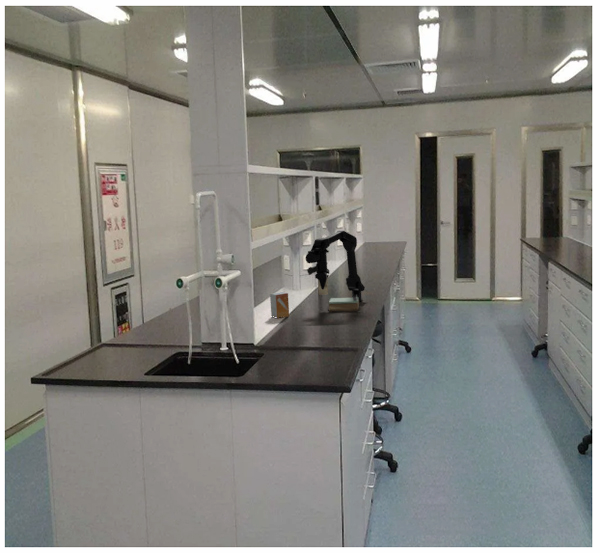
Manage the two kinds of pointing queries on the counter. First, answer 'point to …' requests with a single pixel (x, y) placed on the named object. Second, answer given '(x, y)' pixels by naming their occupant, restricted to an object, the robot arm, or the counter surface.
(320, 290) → the brown wooden block
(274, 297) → the small box
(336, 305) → the open wooden tray
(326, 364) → the counter surface
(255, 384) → the counter surface
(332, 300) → the lid
